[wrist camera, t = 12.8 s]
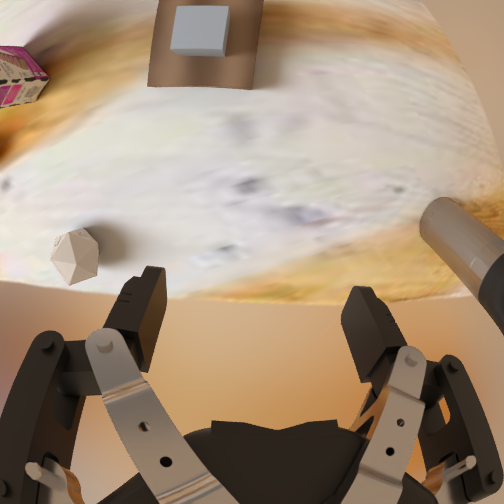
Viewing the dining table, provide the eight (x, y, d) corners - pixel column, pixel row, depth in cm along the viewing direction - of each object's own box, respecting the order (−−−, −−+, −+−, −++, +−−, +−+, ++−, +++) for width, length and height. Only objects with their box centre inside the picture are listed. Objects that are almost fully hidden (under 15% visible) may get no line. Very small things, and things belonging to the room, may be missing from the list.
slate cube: (230, 19, 22) (228, 6, 18) (224, 56, 24) (222, 49, 20) (186, 18, 21) (177, 6, 17) (180, 55, 24) (170, 49, 20)
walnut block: (261, 9, 24) (263, -1, 20) (250, 90, 30) (251, 88, 27) (167, 7, 23) (159, -2, 19) (156, 87, 29) (147, 86, 25)
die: (109, 223, 39) (56, 225, 30) (116, 277, 39) (64, 288, 30) (85, 231, 42) (39, 234, 34) (91, 279, 43) (46, 288, 34)
